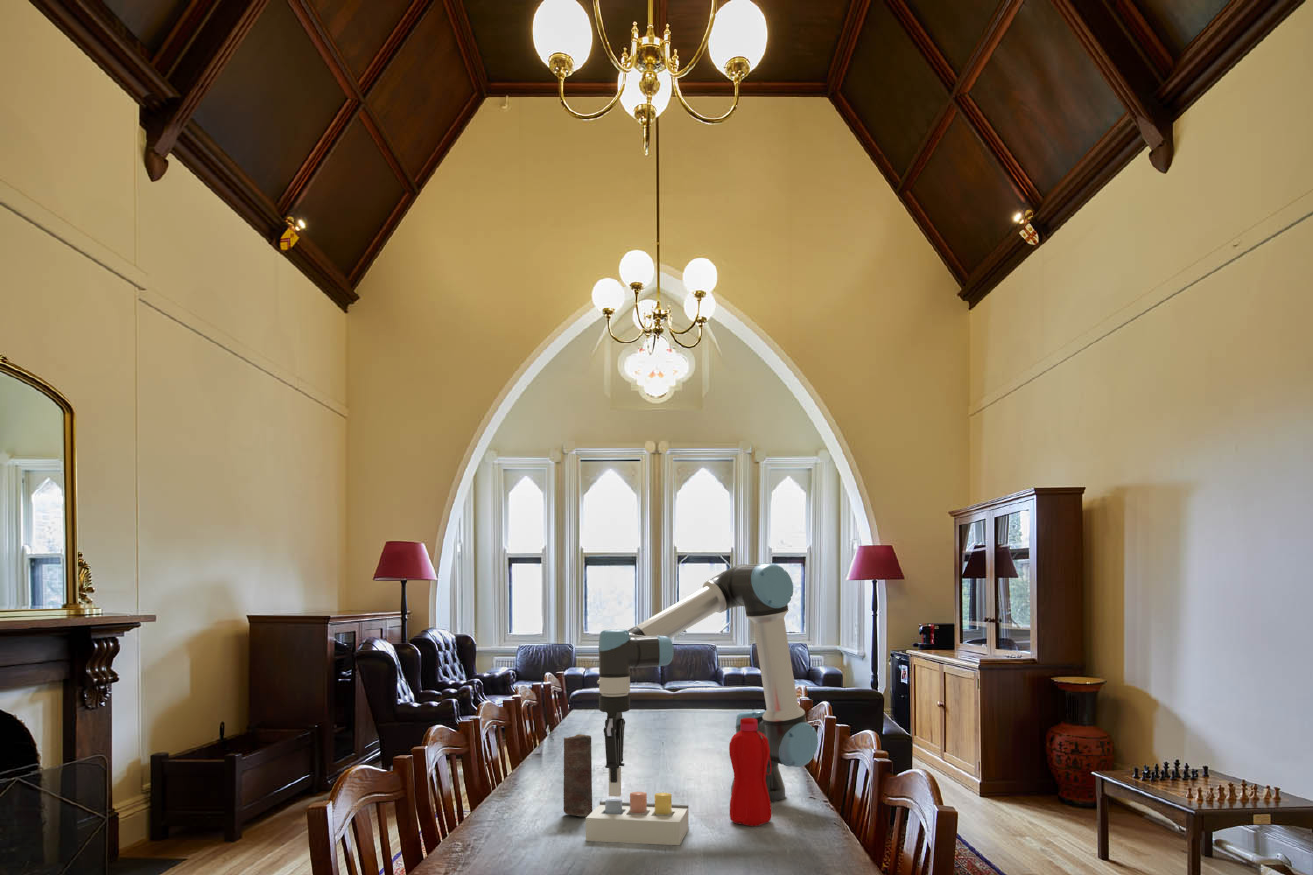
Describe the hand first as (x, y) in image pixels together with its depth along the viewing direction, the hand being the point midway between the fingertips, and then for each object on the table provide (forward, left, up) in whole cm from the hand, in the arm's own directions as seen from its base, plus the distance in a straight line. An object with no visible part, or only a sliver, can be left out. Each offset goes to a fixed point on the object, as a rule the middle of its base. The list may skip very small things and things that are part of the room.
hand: (615, 795), depth 219 cm
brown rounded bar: (+13, -15, -9) cm, 22 cm away
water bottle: (-32, -16, -9) cm, 37 cm away
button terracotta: (-6, 0, -3) cm, 7 cm away
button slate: (0, 0, -5) cm, 5 cm away
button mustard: (-12, 0, -3) cm, 12 cm away
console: (-6, 0, -9) cm, 10 cm away
